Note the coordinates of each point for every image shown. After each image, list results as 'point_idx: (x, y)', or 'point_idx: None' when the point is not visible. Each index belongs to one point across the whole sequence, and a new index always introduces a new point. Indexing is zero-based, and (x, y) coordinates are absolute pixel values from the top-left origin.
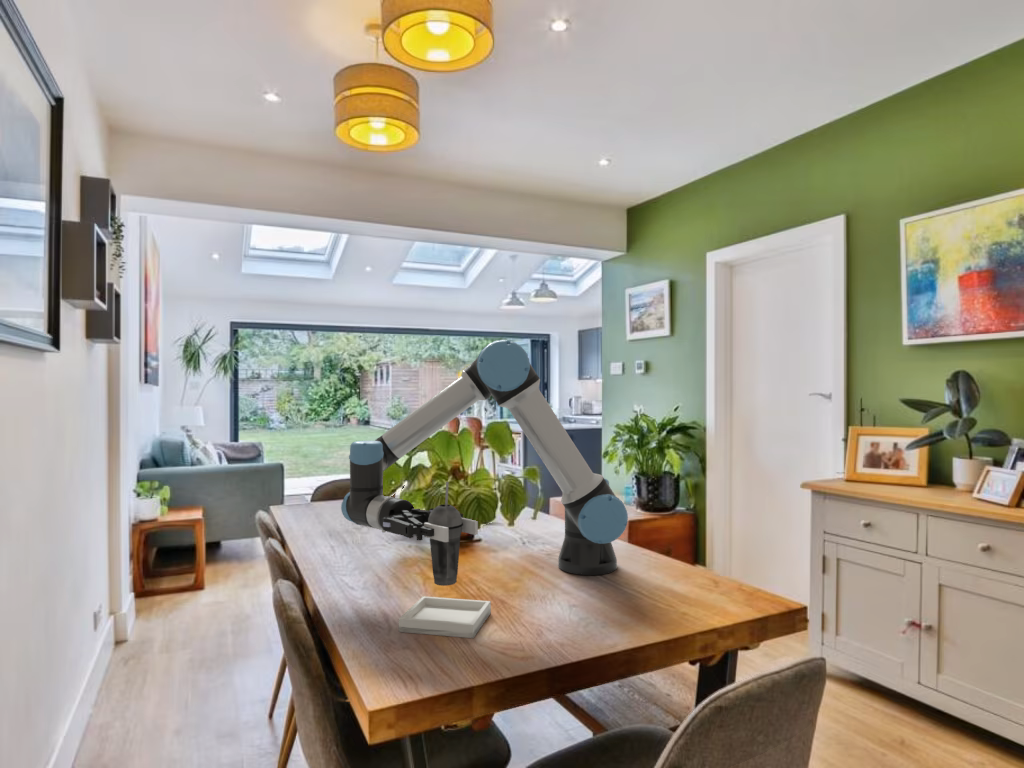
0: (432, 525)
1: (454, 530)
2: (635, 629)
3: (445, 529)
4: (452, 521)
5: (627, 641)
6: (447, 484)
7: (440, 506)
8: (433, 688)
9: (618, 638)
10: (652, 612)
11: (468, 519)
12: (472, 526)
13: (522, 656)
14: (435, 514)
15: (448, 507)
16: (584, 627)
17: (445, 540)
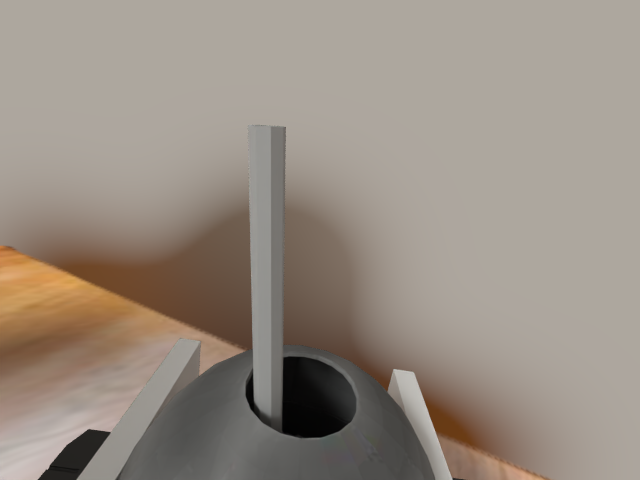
0: (451, 478)
1: (304, 422)
2: (121, 335)
3: (412, 377)
4: (325, 382)
5: (173, 333)
6: (278, 161)
7: (360, 398)
8: (477, 466)
9: (166, 342)
10: (27, 333)
11: (156, 387)
12: (191, 380)
13: None
14: (421, 445)
15: (316, 351)
16: (131, 388)
17: None
